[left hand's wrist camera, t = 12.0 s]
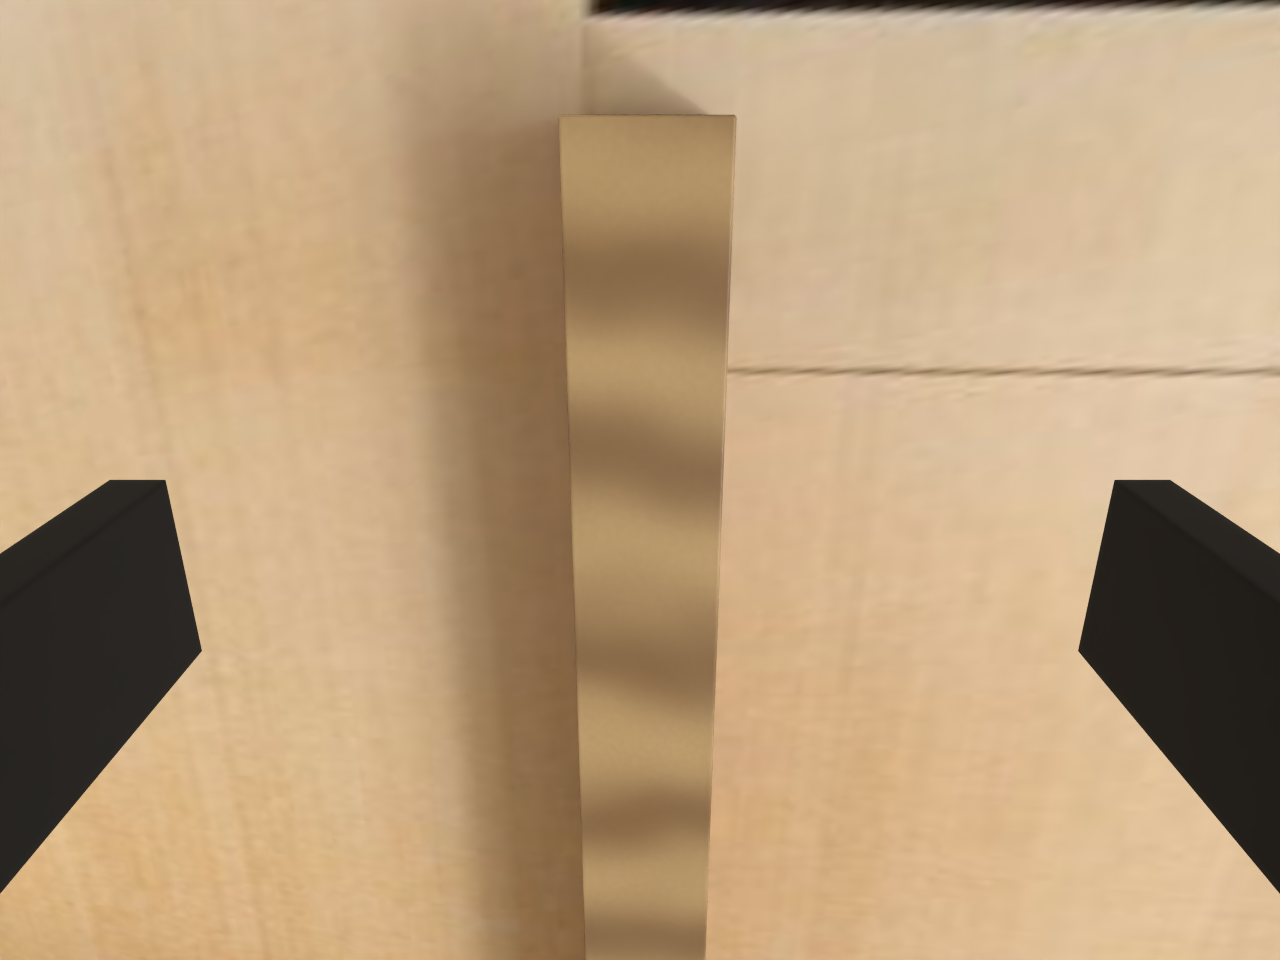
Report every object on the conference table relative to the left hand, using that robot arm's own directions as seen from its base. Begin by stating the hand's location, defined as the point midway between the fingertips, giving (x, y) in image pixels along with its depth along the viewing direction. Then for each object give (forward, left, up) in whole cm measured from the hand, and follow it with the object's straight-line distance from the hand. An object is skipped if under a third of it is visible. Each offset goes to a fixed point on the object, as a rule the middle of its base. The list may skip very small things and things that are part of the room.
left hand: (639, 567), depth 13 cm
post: (+19, +15, -24) cm, 34 cm away
